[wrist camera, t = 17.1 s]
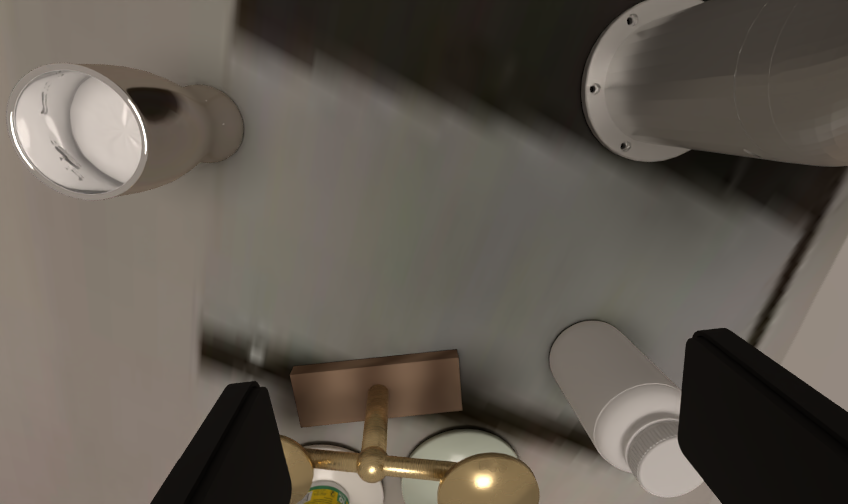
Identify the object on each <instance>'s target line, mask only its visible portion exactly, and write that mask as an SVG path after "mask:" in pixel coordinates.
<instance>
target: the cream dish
mask: <svg viewBox="0 0 848 504" xmlns="http://www.w3.org/2000/svg"><path fill="white" fill-rule="evenodd" d="M304 448H310V449H321V450H332V451H343V452H353V451H351V450H348V449H346V448H342V447H338V446H332V445H310V446H304ZM354 453H355V452H354ZM319 481H329V482H333V483H336V484H338V485H339V486H341V487H342V488H343V489H344V490H345V491H346V493H347V494H348V497H349V504H383V497H384V491H383V484H382V481H379V482H377V483H367V482H365V481H363V480H362V479H361V478H360V477H359V475H358V473H353V472H344V471H334V470H324V469H315V468H314V476H313V481H312V483H315V482H319Z"/></svg>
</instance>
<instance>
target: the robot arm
mask: <svg viewBox="0 0 848 504" xmlns="http://www.w3.org/2000/svg"><path fill="white" fill-rule="evenodd" d="M627 19H629V21H630V23H629V25H628V24H627ZM591 86H592V87H593V91H592V92H590V87H591ZM581 99H582V108H583V112H584V115H585V118H586V121H587V124H588V126H589V127H590V129H591V131H592V133H593V135H594V136H595V137H596V138H597V139H598V141H599V142H600V143H601V144H602V145H603V146H604V147H606V148H607V149H608V150H610V151H611V152H612V153H615V154H617V155H619V156H621V157H623V158H627V159H631V160H635V161H643V162H656V161H664V160H667V159H671V158H674V157H677V156H679V155H682V154H684V153H686V152H688V151H690V150H691V149H693V150H700V151H708V152H715V153H722V154H729V155H737V156H744V157H751V158H758V159H766V160H773V161H780V162H787V163H798V164H805V165H813V166H830V167H836V166H848V0H709V1H707V2H704V1H702V0H646V1H643V2H641V3H639V4H637V5H635V6H633V7H631V8H629V9H627V10H626V11H624V12H623V13H622V14H621V15H619V16H618V17H617V18H615V19H614V20H613V21H612V22H611V23H610V24H609V25H608V26H607V28H606V29H605V30H604V31H603V32H602V33H601V35H600V36H599V38H598V39H597V41H596V43H595V44H594V46H593V47H592V49H591V52H590V54H589V56H588V59H587V61H586V64H585V68H584V72H583V76H582V86H581ZM622 143H623V147H622V148H621V144H622ZM677 436H678V444H679V447H680V449H681V451H682V453H683V455H684V456H685V457H686V459H687V460H688V461H689V462H690V464H691V465H692V466H693V468H694V469H695V470H696V471H697V473H698V474H699V475H700V476H701V478H702V479H703V480H704V481H705V483H706V484H707V485H708V486H709V488H710V489H711V490H712V492H713V493H714V494H715V495H716V496H717V498H718V499H719V500H720V502H721V503H722V504H848V412H847V411H845V410H844V409H842V408H841V407H840V406H838V405H837V404H835V403H834V402H832V401H831V400H829V399H828V398H827V397H825V396H824V395H822V394H821V393H819V392H818V391H816V390H815V389H814V388H812V387H811V386H809V385H808V384H806V383H805V382H804V381H802V380H801V379H799V378H798V377H796V376H795V375H793V374H792V373H791V372H789V371H788V370H786V369H785V368H783V367H782V366H781V365H779V364H778V363H776V362H775V361H773V360H772V359H770V358H769V357H768V356H766V355H765V354H763V353H762V352H760V351H759V350H758V349H756V348H755V347H753V346H752V345H750V344H749V343H747V342H746V341H745V340H743V339H742V338H740V337H739V336H737V335H736V334H735V333H733V332H732V331H730V330H728V329H726V328H718V329H709V330H700V331H697V332H695V333H694V335H693V337H692V338H690V339H688V341H687V342H686V349H685V360H684V370H683V381H682V392H681V403H680V414H679V425H678V435H677ZM291 494H292V483H291V478H290V474H289V470H288V466H287V462H286V458H285V455H284V451H283V447H282V443H281V439H280V435H279V431H278V428H277V424H276V420H275V416H274V412H273V408H272V404H271V400H270V397H269V393H268V390H267V388H266V387H260V386H259V384H258V383H257V382H256V381H251V382H243V383H234V384H229V385H227V387H226V388H225V389H224V391H223V392H222V394H221V395H220V397H219V399H218V400H217V402H216V403H215V405H214V406H213V408H212V409H211V411H210V413H209V414H208V416H207V417H206V419H205V420H204V422H203V423H202V425H201V427H200V428H199V430H198V431H197V433H196V434H195V436H194V437H193V439H192V441H191V442H190V444H189V445H188V447H187V448H186V450H185V451H184V453H183V454H182V456H181V458H180V459H179V460H178V461H177V463H176V464H175V466H174V468H173V469H172V471H171V472H170V474H169V475H168V477H167V478H166V480H165V482H164V483H163V485H162V486H161V488H160V489H159V491H158V492H157V494H156V495H155V497H154V499H153V500H152V502H151V503H150V504H289V503H290V500H291Z"/></svg>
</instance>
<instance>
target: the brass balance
mask: <svg viewBox="0 0 848 504" xmlns="http://www.w3.org/2000/svg"><path fill="white" fill-rule="evenodd" d="M290 378H291V383H292V388H293V392H294V397H295V402H296V407H297V411H298V416H299V421H300V426H301V427H311V426H320V425H329V424H339V423H348V422H357V421H365V423H364V432H363V441H362V449H361V453H354V452H343V451H332V450H321V449H310V448H304V447H303V446H301V445H300V444H299V443H297V442H296V441H294V440H293V439H291V438H288V437H286V436H283V435H280V439H281V443H282V447H283V451H284V455H285V458H286V462H287V466H288V470H289V474H290V478H291V483H292V494H291V500H290V503H289V504H297V503H298V502H299V501H301V500H302V499H303V498H304V497H305V496H306V494H307V493H308V491H309V490H310V487H311V485H312V481H313V476H314V468H315V469H324V470H334V471H344V472H353V473H358V475H359V477H360V478H361V479H362V480H363V481H365V482H367V483H377V482H379V481H381V480H382V479H383V478H384V477H385V476H392V477H402V478H411V479H421V480H431V481H440V483H439V486H438V491H437V502H438V504H538V503H539V488H538V484H537V481H536V479H535V476H534V474H533V472H532V471H531V469H530V468H529V467H528V466H527V465H526V464H525V463H524V462H522V461H521V460H519V459H518V458H516V457H513V456H511V455H507V454H503V453H494V452H489V453H480V454H476V455H472V456H469V457H467V458H465V459H463V460H461V461H459V462H451V461H440V460H429V459H419V458H408V457H397V456H388V455H387V453H386V447H387V423H388V418H395V417H404V416H413V415H423V414H432V413H442V412H451V411H460V410H462V399H461V385H460V371H459V357H458V353H457V349H456V350H446V351H436V352H427V353H417V354H407V355H398V356H388V357H379V358H369V359H359V360H350V361H340V362H330V363H321V364H311V365H302V366H293V369H292V371H291V374H290Z"/></svg>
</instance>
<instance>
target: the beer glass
mask: <svg viewBox="0 0 848 504" xmlns="http://www.w3.org/2000/svg"><path fill="white" fill-rule="evenodd" d="M6 123H7V130H8V134H9V137H10V140H11V143H12V145H13V148H14V150H15V152H16V153H17V155H18V157H19V158H20V160H21V161H22V163H23V164H24V165H25V166H26V168H27V169H28V170H29V171H30V172H31V173H32V174H33V175H34V176H35V177H36V178H37V179H38V180H40V181H41V182H42V183H44V184H45V185H47V186H48V187H50V188H51V189H53V190H55V191H57V192H59V193H61V194H63V195H66V196H69V197H72V198H76V199H81V200H91V201H96V200H105V199H110V198H113V197H117V196H124V195H129V194H135V193H140V192H144V191H148V190H151V189H155V188H158V187H161V186H163V185H166V184H168V183H171V182H173V181H175V180H177V179H178V178H180V177H182V176H183V175H185V174H186V173H188V172H189V171H190V170H192V169H193V168H194V167H195V166H197V165H198V164H199V163H200V162H201V163H216V162H220V161H223V160H225V159H227V158H229V157H230V156H232V155H233V154H234V153H235V152H236V150H237V149H238V148H239V146H240V144H241V142H242V138H243V132H244V126H243V120H242V116H241V114H240V111H239V109H238V108H237V106H236V105H235V103H234V102H233V101H232V100H231V99H230V98H229V97H228V96H227V95H226V94H225V93H223V92H222V91H220V90H218V89H216V88H214V87H211V86H207V85H201V84H195V85H189V86H185V87H181V86H180V85H178V84H176V83H174V82H172V81H169V80H167V79H165V78H163V77H160V76H158V75H155V74H152V73H150V72H147V71H143V70H139V69H134V68H129V67H124V66H115V65H105V64H73V63H51V64H46V65H43V66H40V67H37V68H35V69H33V70H31V71H30V72H28V73H27V74H25V75H24V76H23V77H22V78H21V79H20V80H19V81H18V82H17V84H16V85H15V87H14V88H13V90H12V92H11V94H10V97H9V100H8V104H7V110H6Z"/></svg>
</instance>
